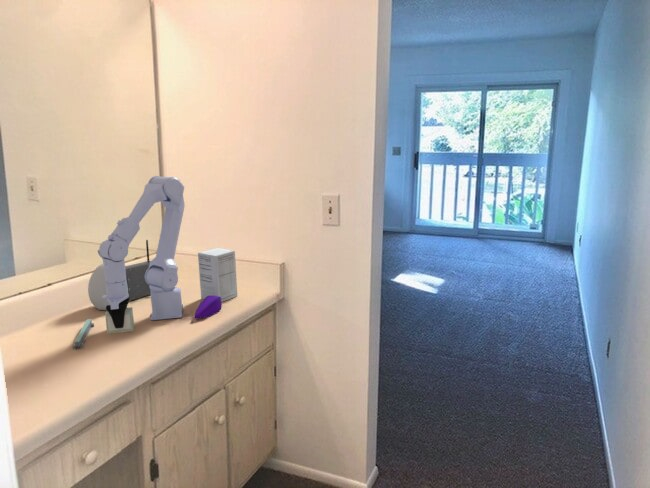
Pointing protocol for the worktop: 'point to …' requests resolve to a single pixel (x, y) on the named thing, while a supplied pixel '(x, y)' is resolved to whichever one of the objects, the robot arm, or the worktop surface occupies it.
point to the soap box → (127, 322)
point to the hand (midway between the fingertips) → (120, 325)
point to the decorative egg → (98, 288)
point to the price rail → (83, 334)
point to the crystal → (209, 307)
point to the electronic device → (138, 278)
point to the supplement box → (218, 273)
